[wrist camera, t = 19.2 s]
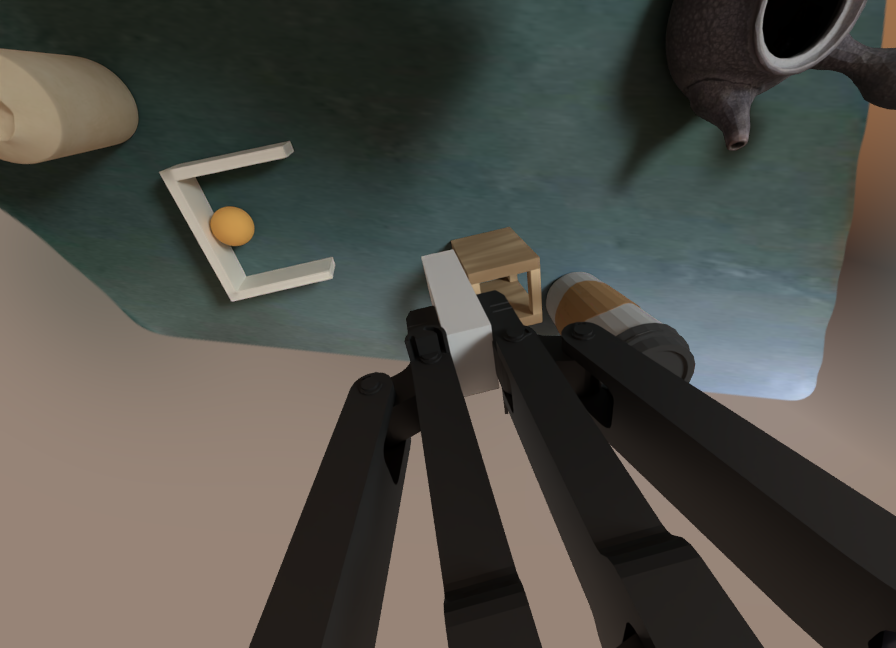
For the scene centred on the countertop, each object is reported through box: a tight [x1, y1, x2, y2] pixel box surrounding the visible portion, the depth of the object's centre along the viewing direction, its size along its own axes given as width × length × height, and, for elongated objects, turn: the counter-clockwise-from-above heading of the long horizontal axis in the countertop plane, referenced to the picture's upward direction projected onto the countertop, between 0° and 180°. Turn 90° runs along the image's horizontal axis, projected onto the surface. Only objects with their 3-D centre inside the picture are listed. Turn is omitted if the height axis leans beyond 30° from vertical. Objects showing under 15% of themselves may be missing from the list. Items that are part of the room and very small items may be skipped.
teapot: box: [666, 0, 896, 151], centre depth 29 cm, size 19×16×10 cm
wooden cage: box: [451, 227, 542, 326], centre depth 36 cm, size 6×6×8 cm
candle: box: [0, 49, 139, 164], centre depth 23 cm, size 6×6×10 cm
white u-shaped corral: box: [159, 141, 335, 302], centre depth 32 cm, size 11×9×3 cm
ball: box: [210, 206, 254, 246], centre depth 32 cm, size 3×3×3 cm
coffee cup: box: [546, 272, 695, 383], centre depth 37 cm, size 8×8×15 cm
